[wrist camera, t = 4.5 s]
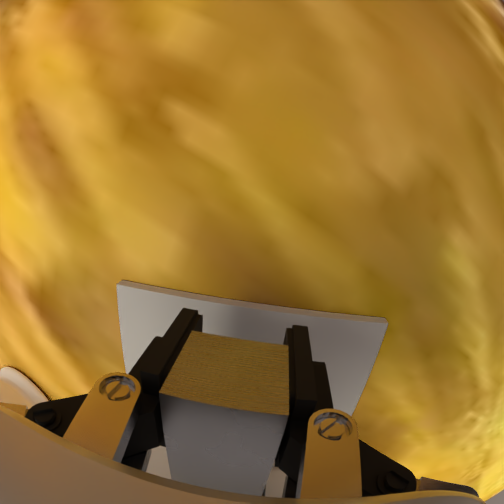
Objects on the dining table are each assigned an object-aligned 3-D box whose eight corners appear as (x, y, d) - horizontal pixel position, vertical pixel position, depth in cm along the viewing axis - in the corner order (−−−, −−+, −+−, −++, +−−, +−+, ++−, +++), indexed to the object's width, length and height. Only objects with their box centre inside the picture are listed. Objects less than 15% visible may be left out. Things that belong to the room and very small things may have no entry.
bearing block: (122, 279, 14) (-26, 402, 4) (384, 317, 13) (477, 491, 3) (154, 479, 19) (121, 563, 10) (298, 503, 18) (295, 593, 9)
